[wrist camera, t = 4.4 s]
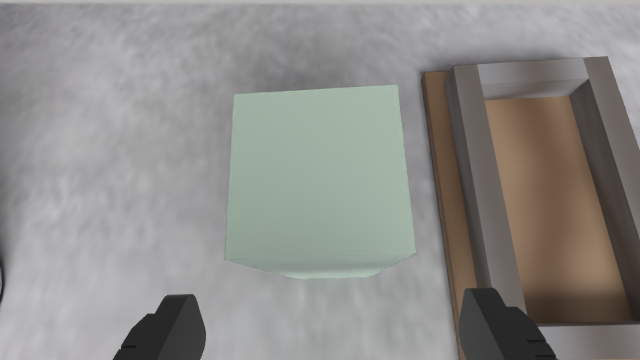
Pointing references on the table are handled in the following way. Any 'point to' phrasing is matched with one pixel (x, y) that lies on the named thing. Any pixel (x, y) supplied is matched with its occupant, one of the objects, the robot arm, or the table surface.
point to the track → (541, 197)
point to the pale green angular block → (319, 183)
